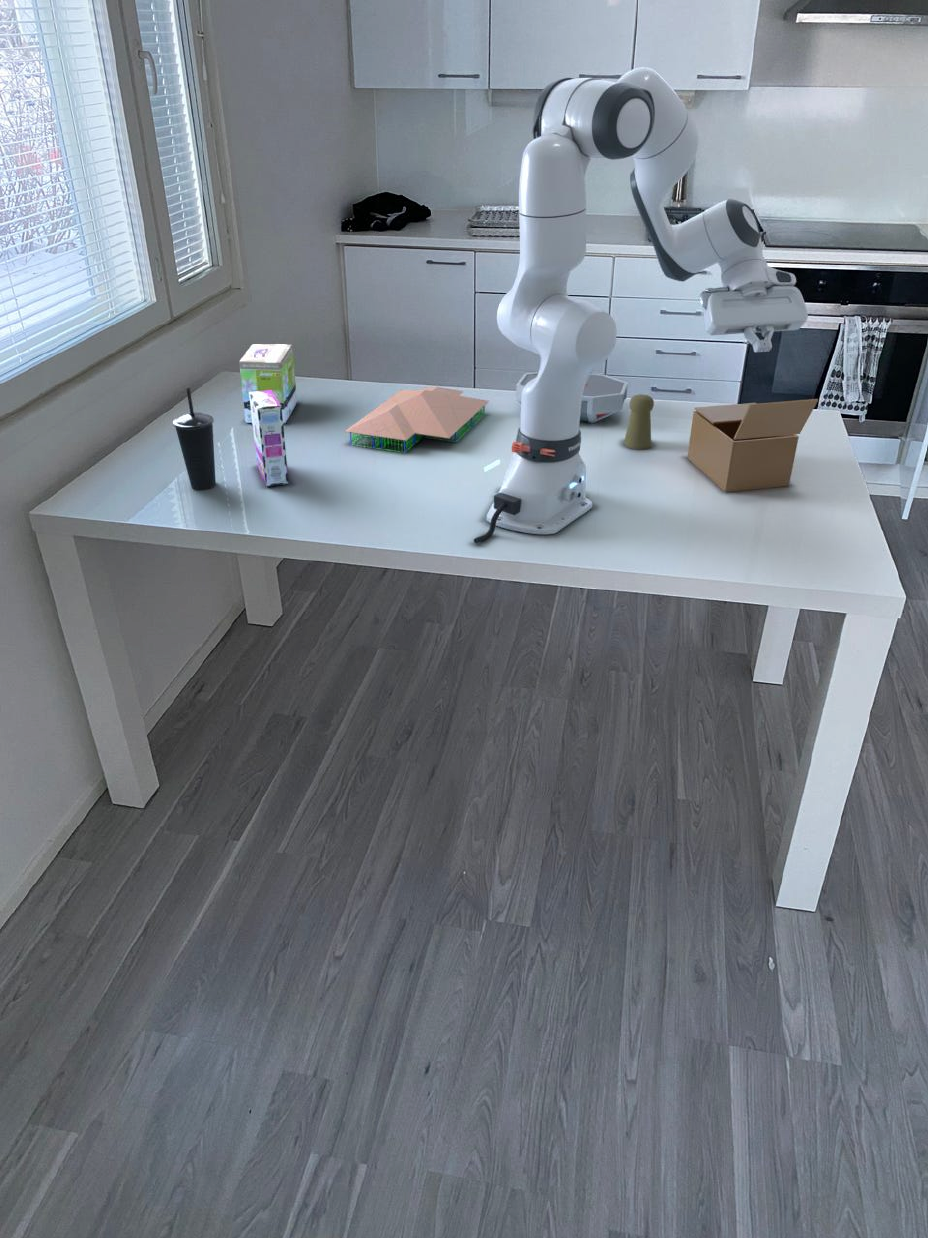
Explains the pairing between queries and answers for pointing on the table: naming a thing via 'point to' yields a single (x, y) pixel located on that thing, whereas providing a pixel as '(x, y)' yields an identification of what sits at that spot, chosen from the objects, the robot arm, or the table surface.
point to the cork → (639, 422)
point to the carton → (738, 451)
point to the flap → (775, 419)
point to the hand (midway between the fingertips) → (763, 350)
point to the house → (419, 416)
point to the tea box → (269, 375)
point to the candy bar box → (269, 437)
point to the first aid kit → (592, 395)
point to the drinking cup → (197, 446)
